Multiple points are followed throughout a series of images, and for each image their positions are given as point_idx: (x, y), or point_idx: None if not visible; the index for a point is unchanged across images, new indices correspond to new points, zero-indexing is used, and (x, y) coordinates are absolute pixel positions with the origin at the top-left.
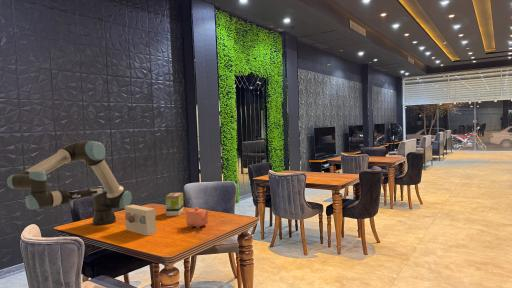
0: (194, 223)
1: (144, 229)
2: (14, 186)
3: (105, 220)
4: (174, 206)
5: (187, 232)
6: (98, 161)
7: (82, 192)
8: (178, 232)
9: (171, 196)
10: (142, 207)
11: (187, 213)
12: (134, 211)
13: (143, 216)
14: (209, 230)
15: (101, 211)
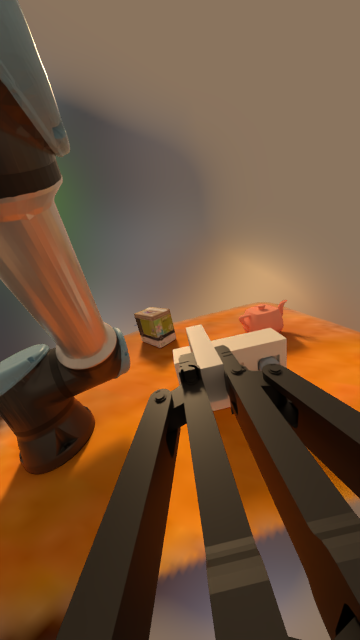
0: (278, 328)
1: None
2: None
3: (80, 434)
4: (168, 328)
5: (297, 345)
6: (46, 165)
7: (315, 462)
8: (289, 353)
9: (160, 313)
10: (231, 340)
11: (259, 318)
12: None
13: (271, 357)
14: (300, 328)
15: (55, 421)
